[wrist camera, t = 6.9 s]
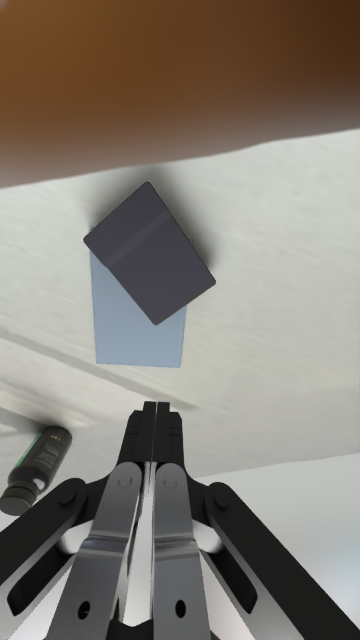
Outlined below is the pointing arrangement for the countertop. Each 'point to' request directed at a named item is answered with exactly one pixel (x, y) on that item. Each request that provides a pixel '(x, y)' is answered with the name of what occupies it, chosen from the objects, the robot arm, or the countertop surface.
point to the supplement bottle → (35, 470)
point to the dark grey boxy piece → (150, 255)
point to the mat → (131, 326)
